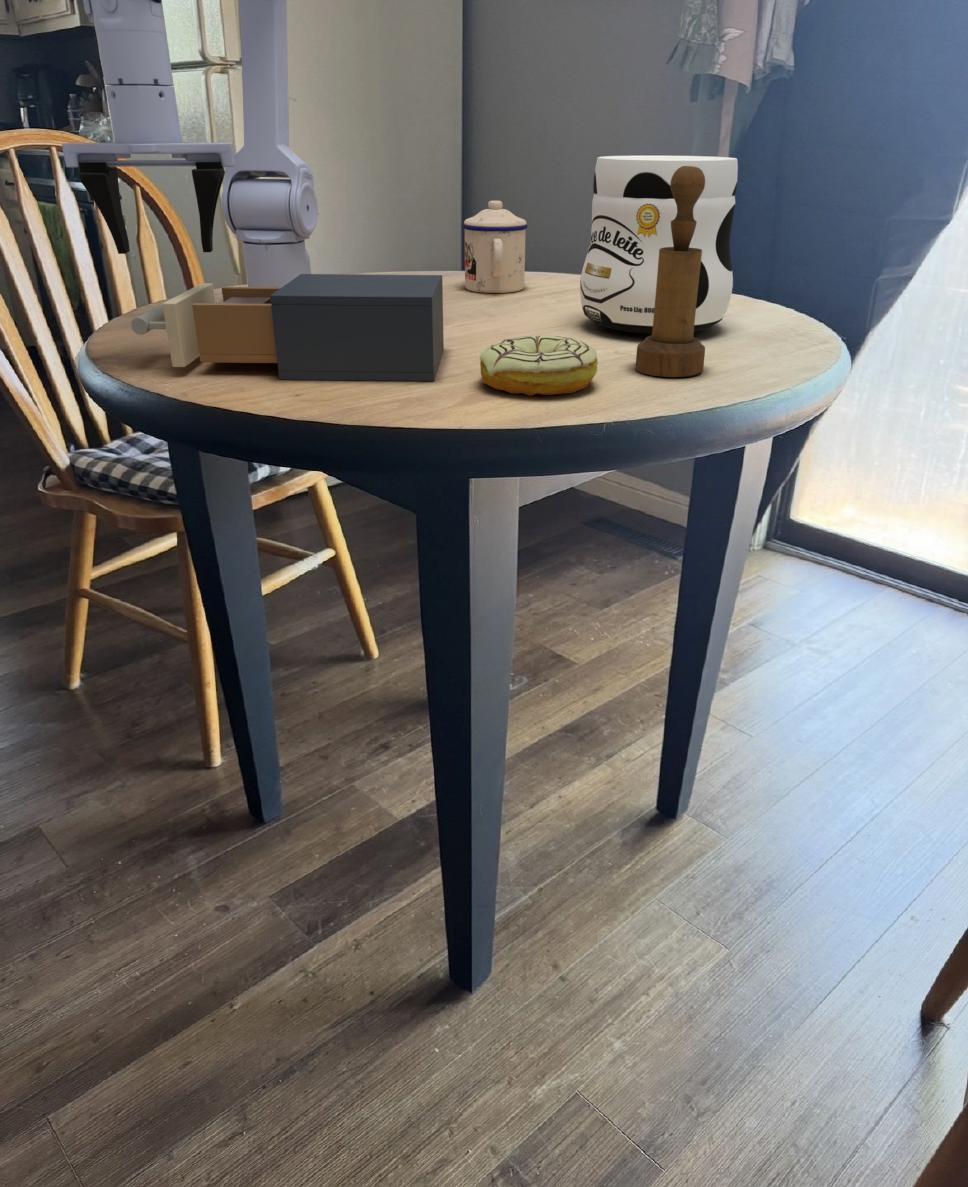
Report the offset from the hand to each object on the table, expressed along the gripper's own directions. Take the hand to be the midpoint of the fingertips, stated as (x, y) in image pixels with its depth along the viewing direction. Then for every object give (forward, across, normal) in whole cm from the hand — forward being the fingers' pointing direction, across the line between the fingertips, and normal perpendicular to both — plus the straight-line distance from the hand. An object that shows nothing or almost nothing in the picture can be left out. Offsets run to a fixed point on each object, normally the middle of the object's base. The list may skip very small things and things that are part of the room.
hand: (166, 251), depth 83 cm
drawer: (+9, +6, -1) cm, 11 cm away
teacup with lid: (+11, +39, +37) cm, 55 cm away
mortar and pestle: (+11, +47, -11) cm, 50 cm away
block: (+8, +7, -1) cm, 11 cm away
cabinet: (+10, +18, -4) cm, 21 cm away
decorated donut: (+11, +33, -14) cm, 38 cm away
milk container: (+11, +52, +9) cm, 54 cm away
